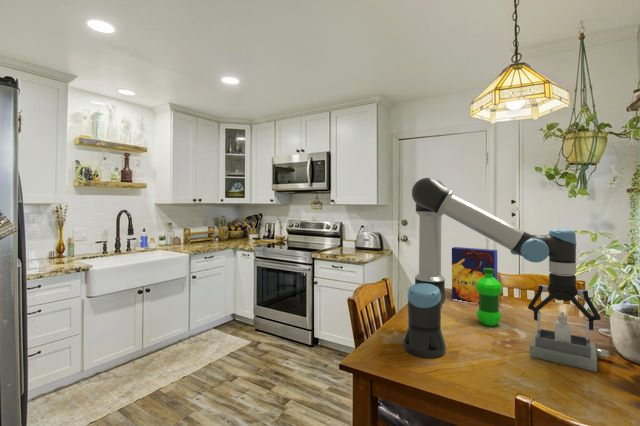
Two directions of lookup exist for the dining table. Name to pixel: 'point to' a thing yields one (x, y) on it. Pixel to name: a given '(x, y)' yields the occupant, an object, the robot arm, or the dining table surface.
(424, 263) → the robot arm
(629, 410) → the dining table surface
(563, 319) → the eye dropper bottle
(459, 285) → the cereal box
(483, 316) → the plastic bottle
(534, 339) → the grey rectangular open box
